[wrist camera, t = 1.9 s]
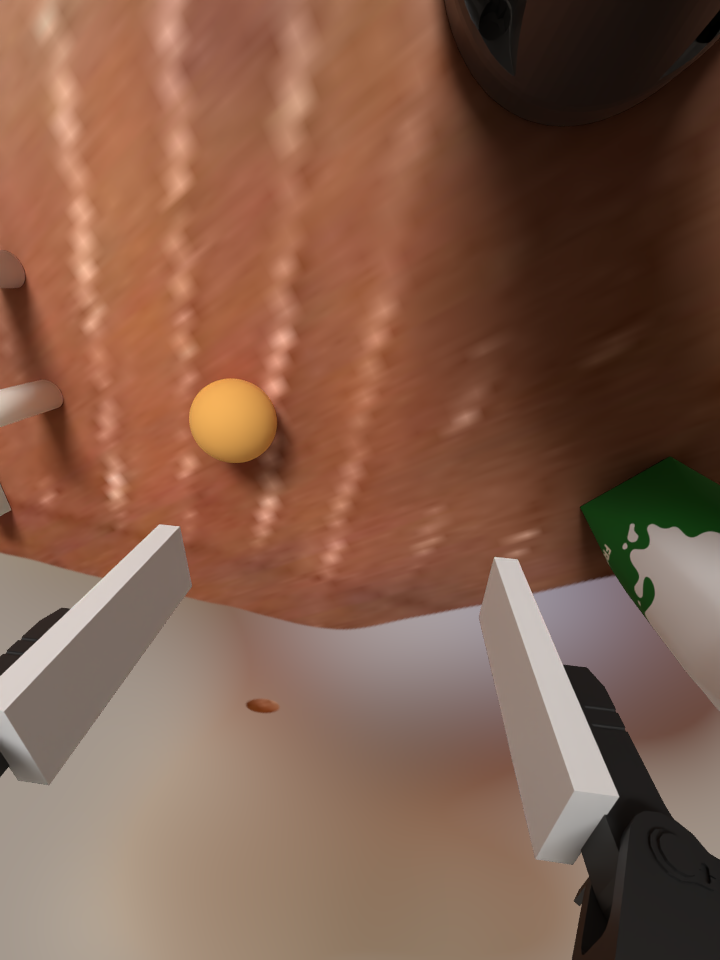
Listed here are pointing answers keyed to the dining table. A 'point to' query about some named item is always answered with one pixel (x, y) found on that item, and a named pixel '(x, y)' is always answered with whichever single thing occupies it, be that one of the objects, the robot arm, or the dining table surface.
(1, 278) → the grey pin
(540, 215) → the dining table surface
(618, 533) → the milk carton
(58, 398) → the pin
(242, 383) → the ball
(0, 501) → the wall
